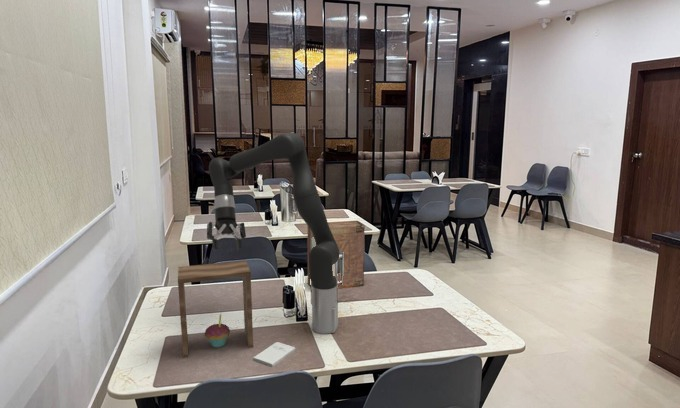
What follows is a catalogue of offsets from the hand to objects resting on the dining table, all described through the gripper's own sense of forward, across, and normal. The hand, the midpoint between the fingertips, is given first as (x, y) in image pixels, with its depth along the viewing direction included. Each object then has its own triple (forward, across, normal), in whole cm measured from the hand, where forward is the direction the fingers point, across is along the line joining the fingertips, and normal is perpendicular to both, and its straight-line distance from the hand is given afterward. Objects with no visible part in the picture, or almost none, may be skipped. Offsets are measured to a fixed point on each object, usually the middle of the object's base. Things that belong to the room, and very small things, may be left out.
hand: (227, 249), depth 165 cm
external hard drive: (+40, +9, -14) cm, 43 cm away
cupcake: (+33, -5, +2) cm, 34 cm away
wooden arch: (+33, -5, +2) cm, 34 cm away
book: (+14, +60, +22) cm, 65 cm away
